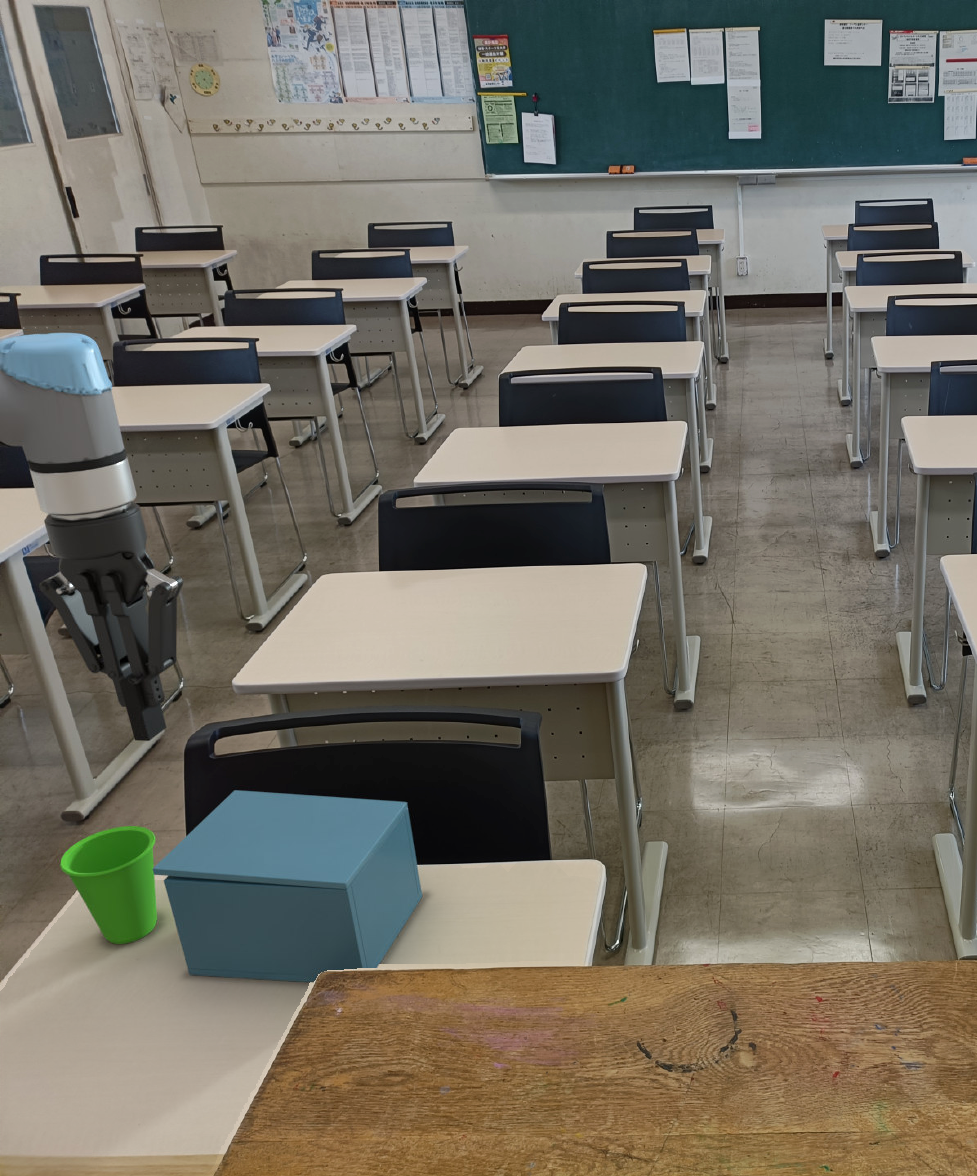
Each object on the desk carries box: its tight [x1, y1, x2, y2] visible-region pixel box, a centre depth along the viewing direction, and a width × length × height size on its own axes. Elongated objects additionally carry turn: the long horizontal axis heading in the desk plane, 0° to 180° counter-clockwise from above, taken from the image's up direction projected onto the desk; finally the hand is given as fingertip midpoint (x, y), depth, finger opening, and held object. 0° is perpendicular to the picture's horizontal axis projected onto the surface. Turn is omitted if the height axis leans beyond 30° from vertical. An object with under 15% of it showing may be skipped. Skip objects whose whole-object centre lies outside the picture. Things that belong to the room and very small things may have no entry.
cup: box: [59, 825, 158, 945], centre depth 117 cm, size 9×9×11 cm
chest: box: [163, 808, 423, 983], centre depth 116 cm, size 20×15×12 cm
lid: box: [153, 789, 409, 889], centre depth 114 cm, size 21×15×1 cm
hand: (150, 733), depth 104 cm, fingers closed
